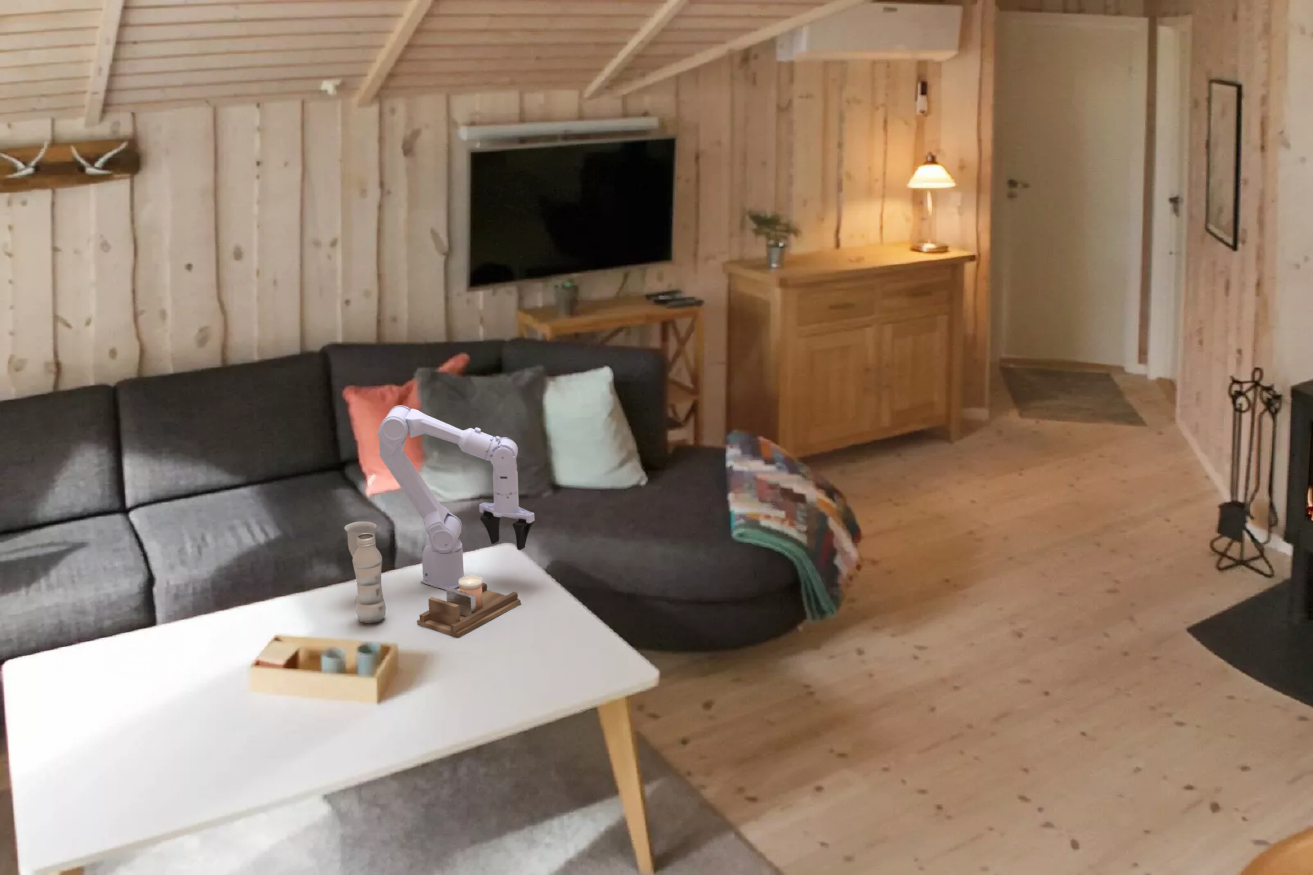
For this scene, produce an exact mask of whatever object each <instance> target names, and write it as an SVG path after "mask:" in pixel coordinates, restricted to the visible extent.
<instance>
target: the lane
mask: <svg viewBox="0 0 1313 875" xmlns="http://www.w3.org/2000/svg"><path fill="white" fill-rule="evenodd" d="M427 600H428V610H426V611H424V612H422V613H420V614H419V619H417V621H416V622H417V625H418V626H421V627H424V628H427V629H429V630H433V631H437V632H440V633H441V634H445V635H448V636H452V637H454V638H458V639H459V638H461V637H463V636H464V635H466V634H468V633H469V632H471V631H474V630H475V629H477V628H479V627H480V626H483V625H484V624H487V623H488V622H490V621H491V620H494V619H495V618H497V617H499V616H501V615H503V614H504V613H506V612H508V611H510V610H512V609H515V608H516V607H518V606H520V605H521V604H522V603H521V599H519V597H518V592H516V591H513V592H510V593H509V594H506V595H505V594H503V593H498V592H495V591H492V590H490V589H489V590H488V584H487V583H484V582H482V600H483V608H482V609H480V610H478V611H476V612H474V613H473V614H471V615H469V616H467V617H466V616H463V615H460V608H459V605H457V604H454V603H450V602H447V600H444V599H440V598H438V597H434V596H431V597H429V598H428V599H427Z"/></svg>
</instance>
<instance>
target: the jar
mask: <svg viewBox="0 0 1313 875" xmlns="http://www.w3.org/2000/svg"><path fill="white" fill-rule="evenodd" d="M482 583H483V578H482V577H480V576H478V575H464V577H462V578H460V579H459V587H458V588H459V589H458V590H460V591H463V592H466V593H470V594H473V595H475V601H476V611H478V610H480V609H482V608H483V600H482Z"/></svg>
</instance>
